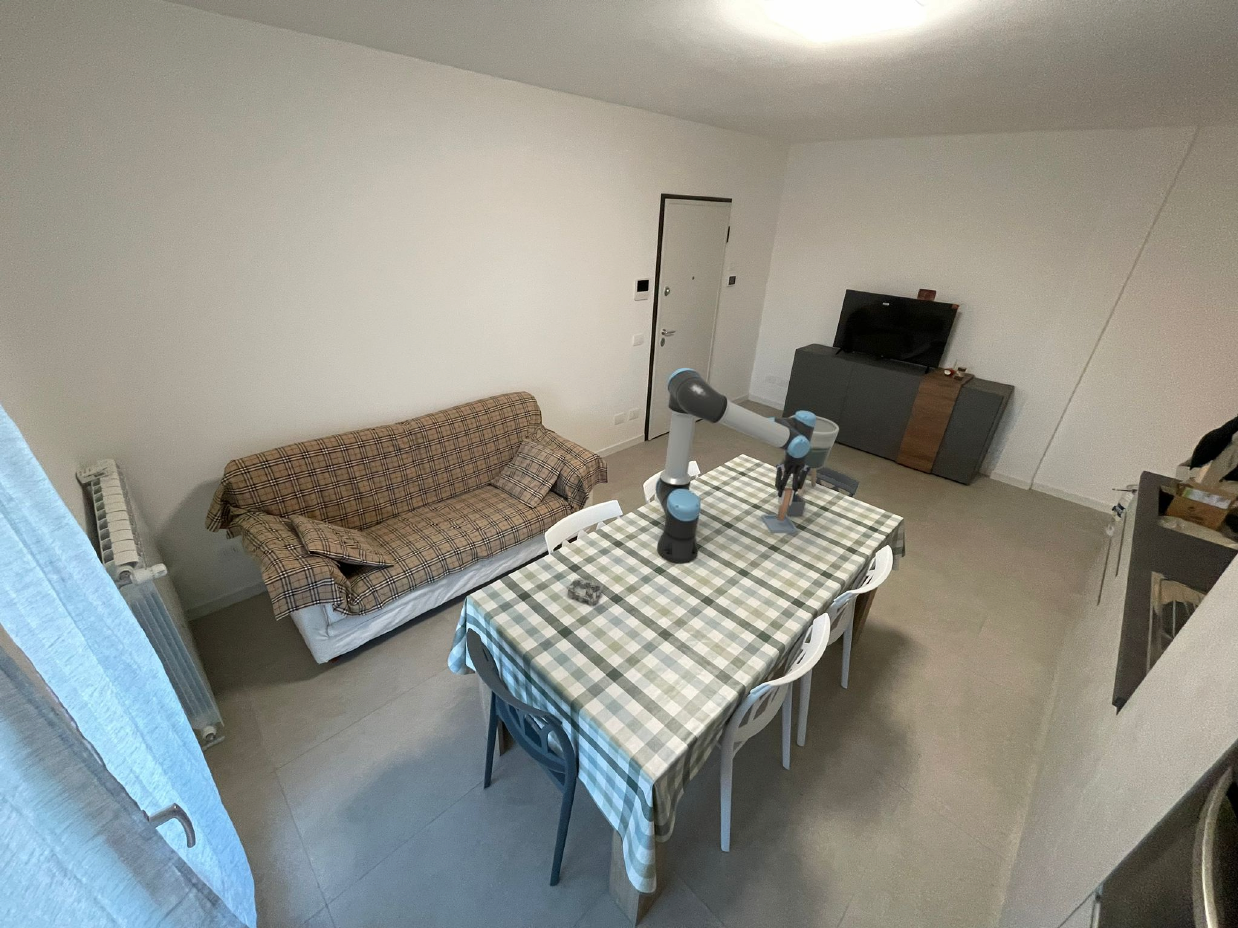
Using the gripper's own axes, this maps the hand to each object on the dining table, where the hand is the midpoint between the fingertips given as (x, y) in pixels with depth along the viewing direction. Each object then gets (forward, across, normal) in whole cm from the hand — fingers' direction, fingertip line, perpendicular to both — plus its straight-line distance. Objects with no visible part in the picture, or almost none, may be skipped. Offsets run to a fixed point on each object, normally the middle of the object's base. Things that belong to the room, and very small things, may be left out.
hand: (784, 503), depth 198 cm
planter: (+11, +22, +31) cm, 40 cm away
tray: (+11, 0, 0) cm, 11 cm away
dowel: (+7, 0, 0) cm, 7 cm away
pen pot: (+11, +9, +10) cm, 17 cm away
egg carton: (+11, -82, -37) cm, 90 cm away
